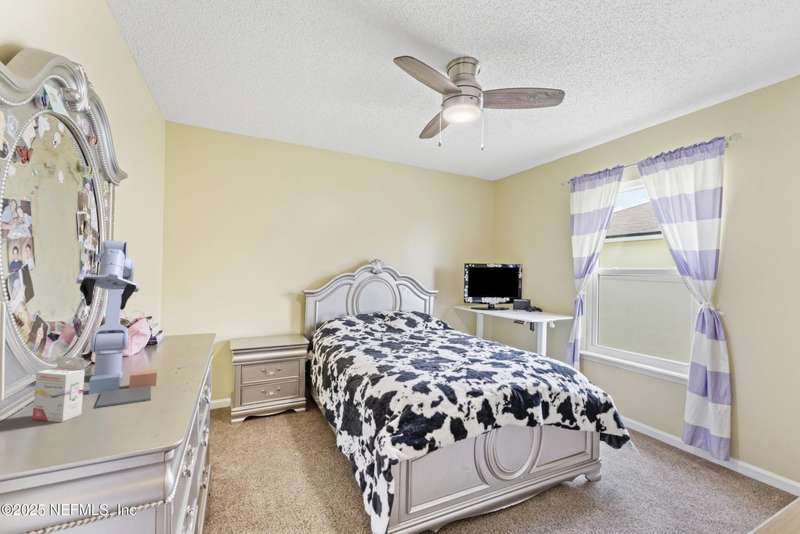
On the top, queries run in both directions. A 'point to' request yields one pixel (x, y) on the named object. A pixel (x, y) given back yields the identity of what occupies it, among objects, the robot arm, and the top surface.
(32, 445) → the top surface
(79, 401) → the ink cartridge box
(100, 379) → the lower brick
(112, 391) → the baseplate
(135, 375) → the upper brick
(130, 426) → the top surface
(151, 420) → the top surface
